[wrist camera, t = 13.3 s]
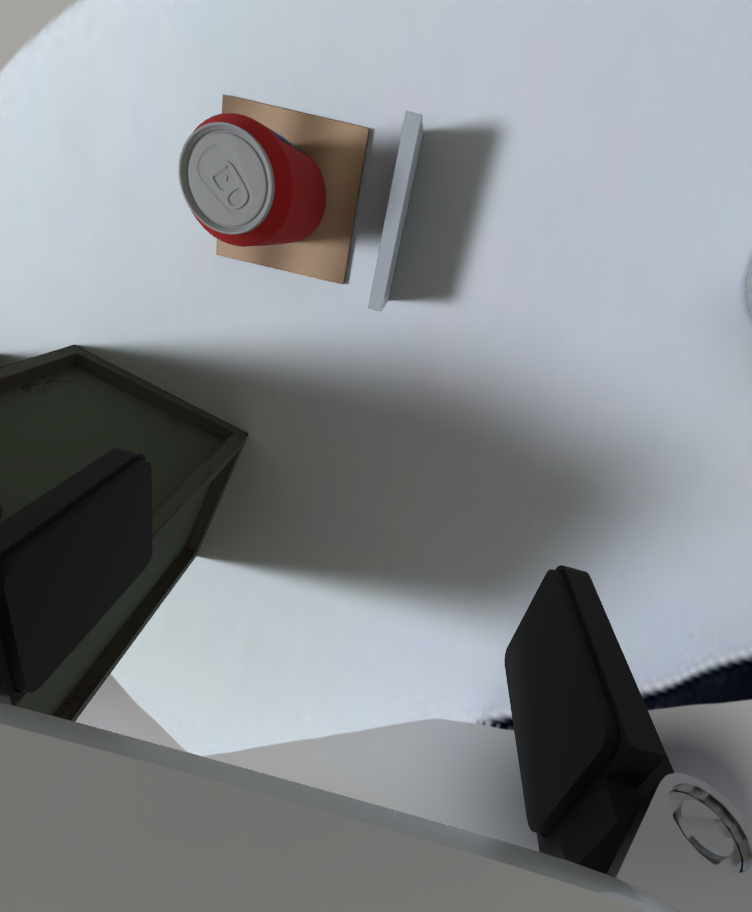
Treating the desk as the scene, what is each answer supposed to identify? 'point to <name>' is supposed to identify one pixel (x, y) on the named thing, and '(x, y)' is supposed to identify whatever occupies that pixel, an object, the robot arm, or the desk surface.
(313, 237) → the coaster pad
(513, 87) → the desk surface
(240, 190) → the beverage can
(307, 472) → the desk surface
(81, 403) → the first aid box
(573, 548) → the desk surface
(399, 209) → the low wall
